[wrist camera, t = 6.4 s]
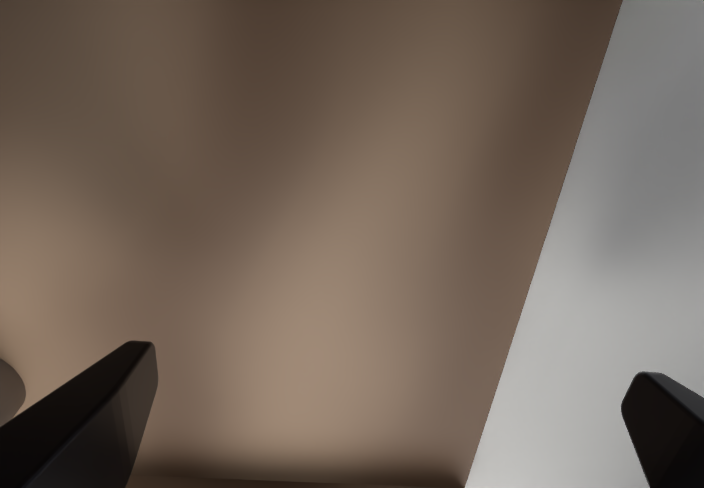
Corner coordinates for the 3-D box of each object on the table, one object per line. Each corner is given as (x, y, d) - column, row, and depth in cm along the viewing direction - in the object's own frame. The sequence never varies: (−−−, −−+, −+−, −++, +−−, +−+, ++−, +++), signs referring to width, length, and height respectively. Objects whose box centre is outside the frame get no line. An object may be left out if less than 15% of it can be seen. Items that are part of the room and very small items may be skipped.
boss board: (631, -66, 8) (799, -101, 5) (455, 493, 15) (485, 616, 12) (-315, -192, 7) (-783, -325, 4) (-42, 473, 14) (-144, 604, 11)
